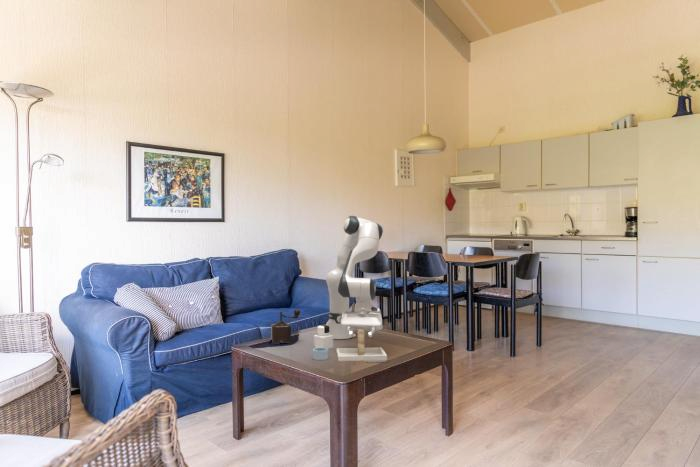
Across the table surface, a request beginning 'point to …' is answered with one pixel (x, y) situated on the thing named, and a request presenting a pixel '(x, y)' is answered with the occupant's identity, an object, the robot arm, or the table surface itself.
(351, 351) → the tray
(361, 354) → the dowel
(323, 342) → the medicine bottle
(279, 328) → the brown coffee grinder
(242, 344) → the table surface
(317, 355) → the cup
